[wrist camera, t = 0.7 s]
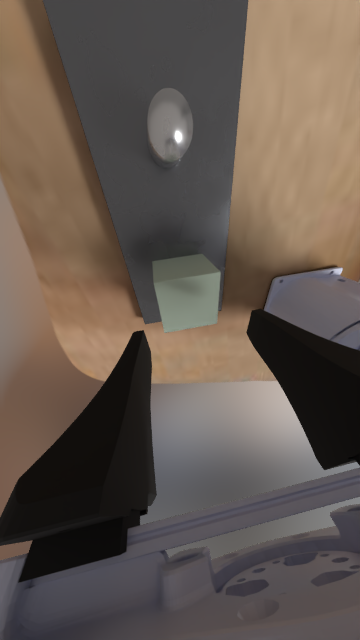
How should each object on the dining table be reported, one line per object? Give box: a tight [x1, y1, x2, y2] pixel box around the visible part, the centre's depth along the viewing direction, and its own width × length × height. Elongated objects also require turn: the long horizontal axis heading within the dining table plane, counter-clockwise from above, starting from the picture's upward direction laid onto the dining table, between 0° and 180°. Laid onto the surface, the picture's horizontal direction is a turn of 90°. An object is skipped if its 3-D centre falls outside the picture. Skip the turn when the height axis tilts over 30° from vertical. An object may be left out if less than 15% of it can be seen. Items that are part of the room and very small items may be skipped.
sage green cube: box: [152, 254, 221, 333], centre depth 15 cm, size 5×5×5 cm
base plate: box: [43, 0, 248, 324], centre depth 13 cm, size 10×20×4 cm, turn 6°
